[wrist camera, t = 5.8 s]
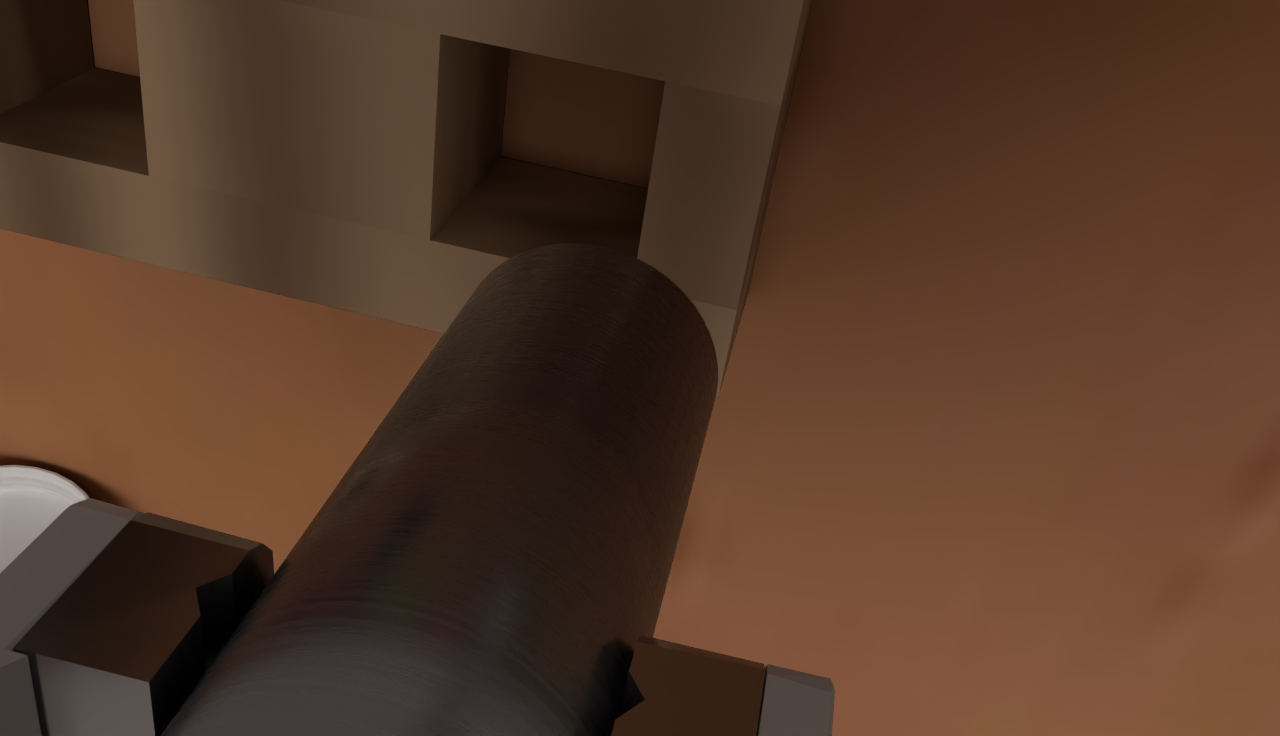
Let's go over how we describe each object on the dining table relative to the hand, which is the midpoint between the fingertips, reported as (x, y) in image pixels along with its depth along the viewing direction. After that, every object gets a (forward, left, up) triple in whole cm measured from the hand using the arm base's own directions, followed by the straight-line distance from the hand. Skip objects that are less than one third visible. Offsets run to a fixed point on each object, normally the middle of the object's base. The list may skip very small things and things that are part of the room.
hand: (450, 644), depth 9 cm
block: (+9, +3, -20) cm, 22 cm away
